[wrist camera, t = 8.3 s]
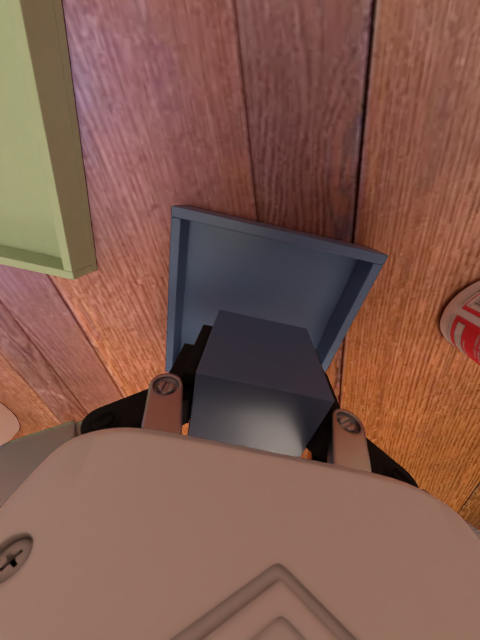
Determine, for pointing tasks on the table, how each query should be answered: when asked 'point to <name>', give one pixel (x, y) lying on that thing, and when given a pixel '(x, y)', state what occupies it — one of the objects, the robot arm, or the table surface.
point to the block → (259, 386)
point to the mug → (7, 424)
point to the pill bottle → (464, 322)
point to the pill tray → (40, 146)
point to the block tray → (263, 278)
